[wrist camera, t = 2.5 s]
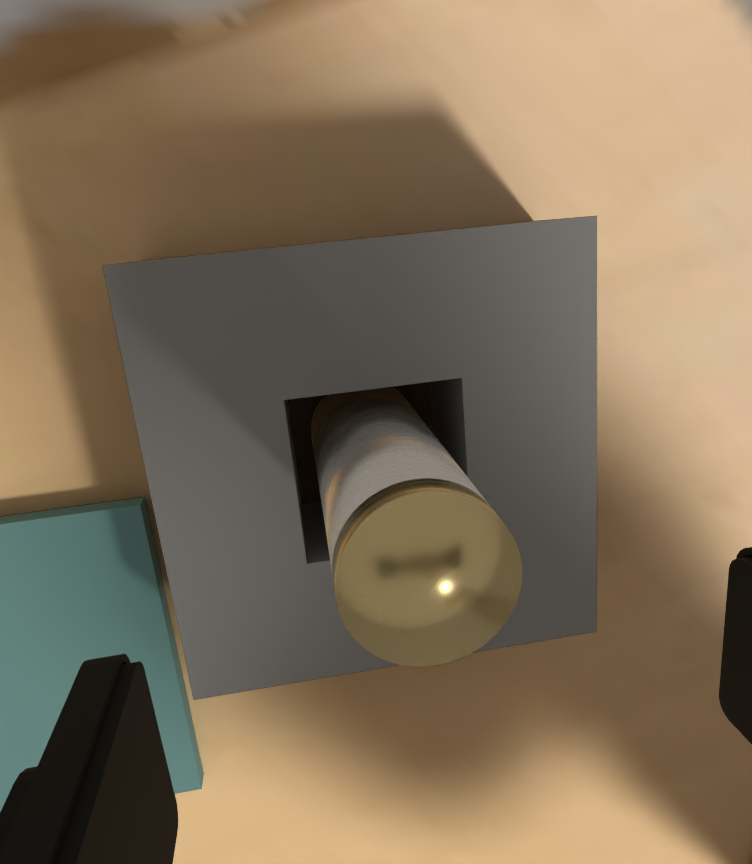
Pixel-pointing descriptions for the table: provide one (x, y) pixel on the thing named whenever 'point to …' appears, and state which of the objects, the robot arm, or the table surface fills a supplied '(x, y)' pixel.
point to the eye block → (346, 372)
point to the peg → (408, 534)
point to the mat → (84, 627)
